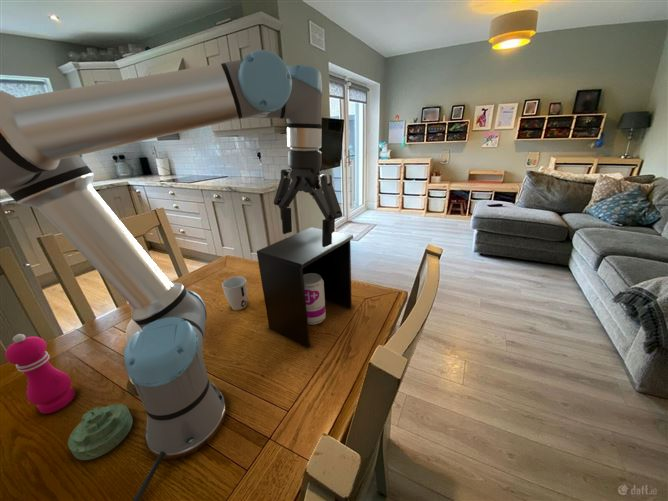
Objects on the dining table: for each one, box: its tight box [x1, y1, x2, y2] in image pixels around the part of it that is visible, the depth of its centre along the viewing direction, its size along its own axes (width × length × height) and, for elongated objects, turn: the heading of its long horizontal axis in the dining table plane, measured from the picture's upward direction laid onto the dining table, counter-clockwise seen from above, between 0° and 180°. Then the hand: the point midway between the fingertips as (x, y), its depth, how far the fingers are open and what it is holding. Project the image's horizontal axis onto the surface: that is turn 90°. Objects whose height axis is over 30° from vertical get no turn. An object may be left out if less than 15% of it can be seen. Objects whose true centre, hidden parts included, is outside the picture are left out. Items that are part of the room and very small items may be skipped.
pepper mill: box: [4, 333, 76, 415], centre depth 62 cm, size 7×7×20 cm
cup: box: [221, 276, 248, 311], centre depth 98 cm, size 8×8×10 cm
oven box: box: [256, 226, 354, 349], centre depth 87 cm, size 17×24×27 cm
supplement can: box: [303, 273, 327, 325], centre depth 89 cm, size 8×8×15 cm
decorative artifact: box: [67, 403, 134, 461], centre depth 56 cm, size 10×7×10 cm
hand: (306, 238), depth 70 cm, fingers open, 13 cm apart
